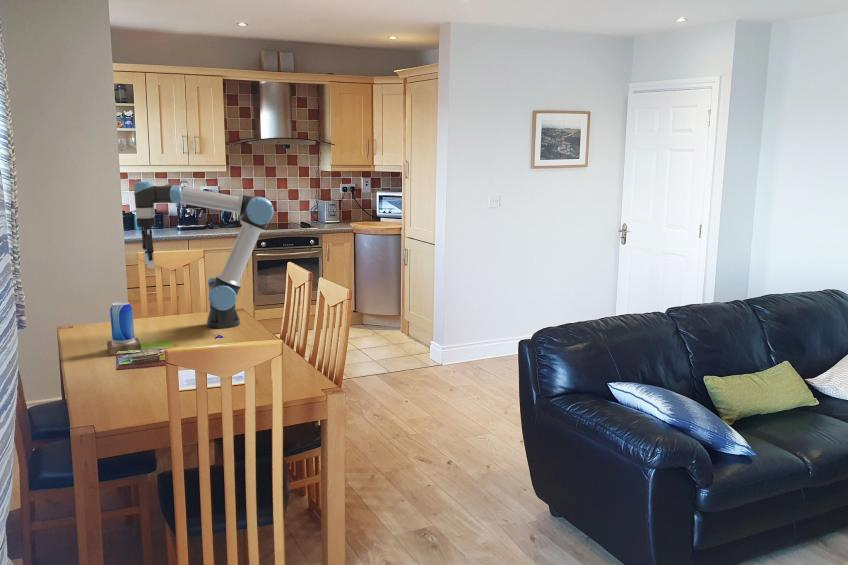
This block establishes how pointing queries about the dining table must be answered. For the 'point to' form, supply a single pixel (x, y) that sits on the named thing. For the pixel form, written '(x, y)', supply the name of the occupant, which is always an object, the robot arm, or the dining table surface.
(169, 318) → the dining table surface
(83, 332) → the dining table surface
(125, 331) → the beer can
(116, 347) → the base slab
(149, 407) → the dining table surface
